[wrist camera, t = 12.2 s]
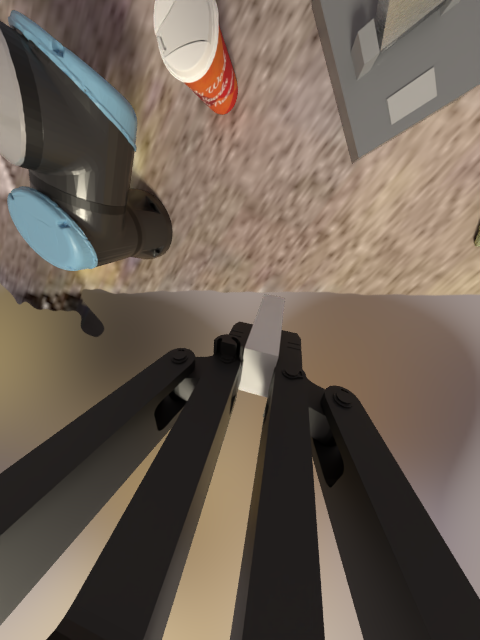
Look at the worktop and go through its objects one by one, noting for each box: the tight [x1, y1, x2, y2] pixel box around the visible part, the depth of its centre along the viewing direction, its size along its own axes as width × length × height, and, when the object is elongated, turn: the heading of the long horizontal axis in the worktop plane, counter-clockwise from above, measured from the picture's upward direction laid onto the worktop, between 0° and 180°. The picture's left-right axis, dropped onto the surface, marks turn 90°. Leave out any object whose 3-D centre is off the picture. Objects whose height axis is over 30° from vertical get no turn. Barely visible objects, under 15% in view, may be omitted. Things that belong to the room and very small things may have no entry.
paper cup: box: [154, 0, 238, 115], centre depth 27 cm, size 8×8×14 cm
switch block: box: [312, 0, 480, 164], centre depth 23 cm, size 20×14×7 cm
